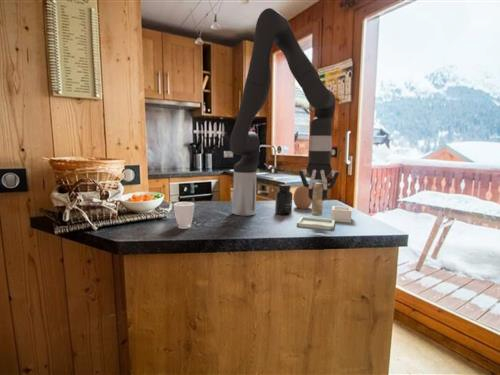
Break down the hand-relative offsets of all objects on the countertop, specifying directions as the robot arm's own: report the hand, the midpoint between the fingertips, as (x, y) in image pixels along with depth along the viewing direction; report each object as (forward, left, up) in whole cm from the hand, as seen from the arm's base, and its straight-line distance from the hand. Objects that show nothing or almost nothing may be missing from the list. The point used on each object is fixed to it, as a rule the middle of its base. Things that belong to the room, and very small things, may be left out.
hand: (317, 199), depth 102 cm
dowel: (0, 0, -5) cm, 5 cm away
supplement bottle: (-15, +15, -10) cm, 24 cm away
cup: (-43, -16, -10) cm, 47 cm away
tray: (0, 0, -10) cm, 10 cm away
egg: (-9, +26, -10) cm, 29 cm away
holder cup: (+8, +11, -10) cm, 17 cm away
